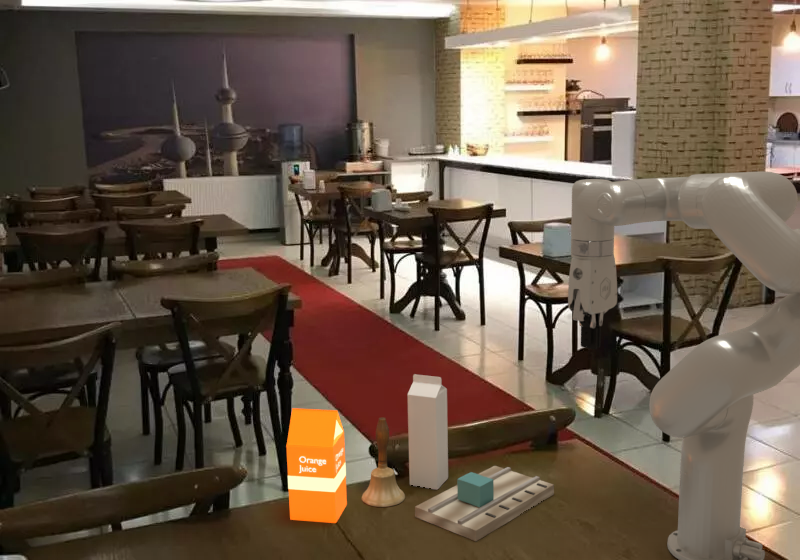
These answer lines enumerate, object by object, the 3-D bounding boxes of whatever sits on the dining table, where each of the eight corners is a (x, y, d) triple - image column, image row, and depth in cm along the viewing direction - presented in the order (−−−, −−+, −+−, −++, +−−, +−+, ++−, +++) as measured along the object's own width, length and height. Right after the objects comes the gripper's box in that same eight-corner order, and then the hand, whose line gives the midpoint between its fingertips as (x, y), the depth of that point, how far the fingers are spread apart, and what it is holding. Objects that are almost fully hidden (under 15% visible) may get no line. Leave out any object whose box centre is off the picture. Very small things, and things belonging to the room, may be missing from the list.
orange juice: (336, 523, 153) (331, 417, 149) (289, 519, 155) (284, 415, 151) (347, 504, 161) (343, 403, 157) (302, 501, 163) (297, 401, 159)
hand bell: (376, 485, 169) (374, 408, 166) (413, 493, 164) (411, 415, 161) (353, 501, 162) (350, 422, 159) (390, 511, 157) (388, 429, 154)
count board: (553, 494, 163) (553, 481, 162) (476, 541, 145) (475, 527, 145) (494, 474, 172) (494, 462, 172) (415, 516, 155) (414, 503, 154)
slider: (493, 499, 156) (493, 479, 155) (480, 507, 153) (479, 486, 152) (471, 492, 159) (471, 471, 158) (457, 499, 156) (457, 478, 156)
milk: (421, 474, 173) (418, 369, 169) (448, 478, 171) (447, 372, 167) (409, 485, 168) (406, 378, 164) (437, 490, 166) (435, 381, 162)
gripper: (588, 256, 145) (587, 359, 149) (631, 245, 156) (629, 342, 159) (551, 252, 150) (550, 352, 154) (595, 241, 161) (593, 335, 164)
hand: (590, 347), depth 157 cm, fingers closed
